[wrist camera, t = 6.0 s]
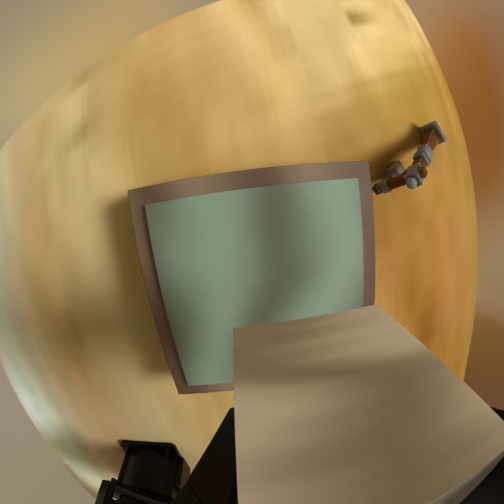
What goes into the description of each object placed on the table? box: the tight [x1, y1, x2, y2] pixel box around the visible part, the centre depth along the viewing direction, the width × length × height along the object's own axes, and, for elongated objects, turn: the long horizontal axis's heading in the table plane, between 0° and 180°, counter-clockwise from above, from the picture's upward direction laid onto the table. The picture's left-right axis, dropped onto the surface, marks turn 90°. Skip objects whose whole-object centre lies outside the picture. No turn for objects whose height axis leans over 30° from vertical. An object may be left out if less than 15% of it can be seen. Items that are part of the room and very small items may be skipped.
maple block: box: [233, 304, 504, 504], centre depth 6 cm, size 5×5×7 cm
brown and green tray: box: [128, 161, 375, 394], centre depth 17 cm, size 14×14×3 cm
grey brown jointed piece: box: [372, 121, 447, 195], centre depth 17 cm, size 2×8×4 cm, turn 132°
